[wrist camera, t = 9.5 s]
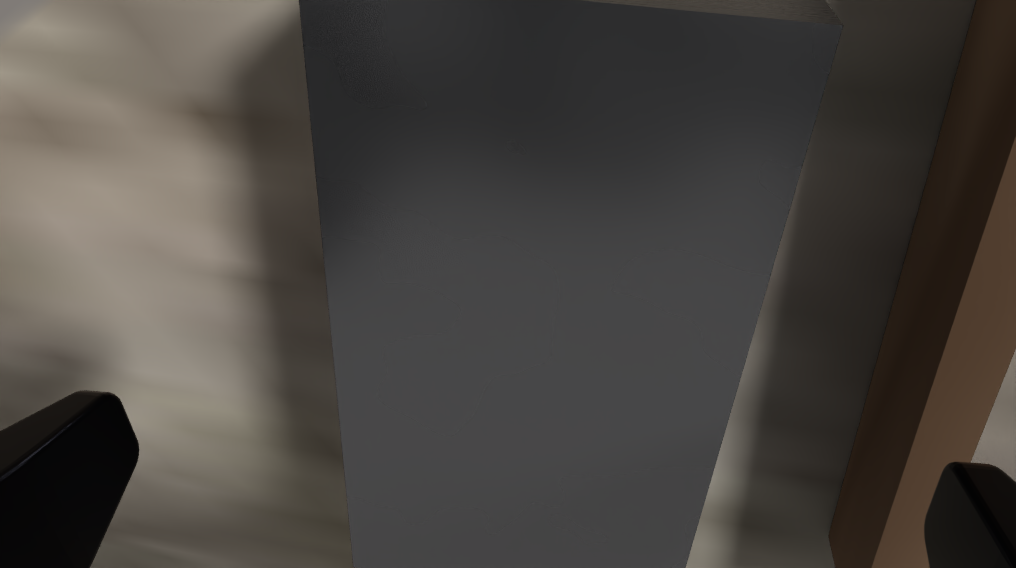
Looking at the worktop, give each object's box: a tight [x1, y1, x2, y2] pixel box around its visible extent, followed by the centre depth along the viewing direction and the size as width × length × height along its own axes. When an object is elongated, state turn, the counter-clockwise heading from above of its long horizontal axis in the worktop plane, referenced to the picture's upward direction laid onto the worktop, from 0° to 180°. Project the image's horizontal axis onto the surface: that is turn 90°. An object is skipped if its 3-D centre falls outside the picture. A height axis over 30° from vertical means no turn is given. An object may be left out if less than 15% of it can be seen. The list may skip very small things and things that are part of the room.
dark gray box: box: [299, 0, 843, 568], centre depth 11 cm, size 5×9×4 cm, turn 177°
